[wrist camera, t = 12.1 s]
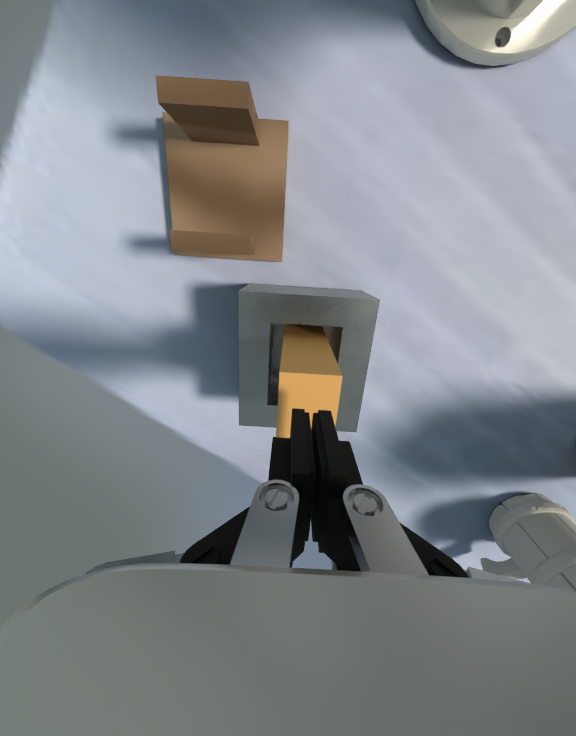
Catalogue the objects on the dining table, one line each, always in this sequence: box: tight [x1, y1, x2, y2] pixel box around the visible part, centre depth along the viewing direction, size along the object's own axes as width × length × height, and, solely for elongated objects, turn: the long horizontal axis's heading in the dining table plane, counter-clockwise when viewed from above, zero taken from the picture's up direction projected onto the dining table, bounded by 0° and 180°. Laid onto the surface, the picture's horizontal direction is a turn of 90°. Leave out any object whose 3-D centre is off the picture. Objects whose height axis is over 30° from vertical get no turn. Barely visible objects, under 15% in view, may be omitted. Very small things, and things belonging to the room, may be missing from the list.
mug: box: [481, 493, 576, 593], centre depth 26 cm, size 8×12×12 cm, turn 147°
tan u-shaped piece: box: [156, 76, 288, 262], centre depth 17 cm, size 8×8×6 cm
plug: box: [276, 324, 343, 438], centre depth 19 cm, size 4×3×10 cm
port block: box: [238, 284, 380, 432], centre depth 22 cm, size 10×9×5 cm
